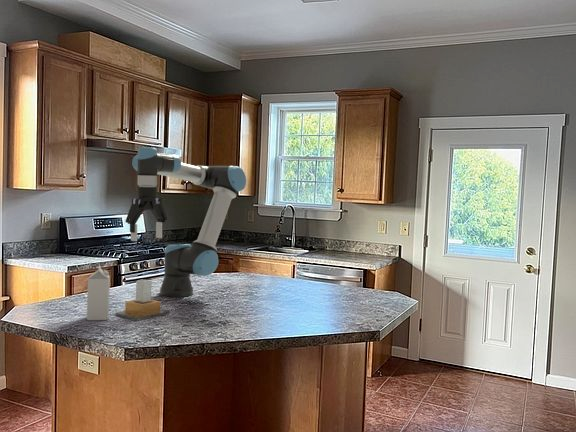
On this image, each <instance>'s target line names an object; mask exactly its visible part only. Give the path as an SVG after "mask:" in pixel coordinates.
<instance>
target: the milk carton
mask: <svg viewBox="0 0 576 432" xmlns="http://www.w3.org/2000/svg"><path fill="white" fill-rule="evenodd" d="M101 267H102V266H101V265H99V267H98V269H97V270H96V271H94V272H93V273H92V274H91V275H90V276H89V277H88V279H87V298H86V299H87V301H86V321H108V319H109V317H110V316H109V315H110V287H111V282H110V281H111V275H109V274H110V272H109V271H108V270H107V269H102V268H101Z"/></svg>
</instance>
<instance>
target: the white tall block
mask: <svg viewBox="0 0 576 432" xmlns="http://www.w3.org/2000/svg"><path fill="white" fill-rule="evenodd" d="M135 282H136V284H135V300H136V302H137V303H141V304H144V303H149V302H151V300H152V285H153V283H152V282H153V281H152V280H149V279H141V280H140V279H139V280H136V281H135Z"/></svg>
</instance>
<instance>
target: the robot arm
mask: <svg viewBox="0 0 576 432" xmlns="http://www.w3.org/2000/svg"><path fill="white" fill-rule="evenodd" d="M131 163H132V164H131V165H132V167H133V169H134V170H135V171H136V172H137V186H138V187H137V191H136V192H137V195H136V196H138V198H132V199H131V204H130V205H131V206H130V208H129V210H128V214H127V216H126V218H125V221H124V222H125V223H127V224H128V225H129V233H130V241H131V242H138V224H137V222H138V220H139V219H140V217H141V216H142V214H143V213H144V212H145V211H148V210H149V211H151V213H152V214H153V216H154V219H156V222H155V225H156V226H155V238H156V239H163V230H164V223H166V221H167V220H168V217H167V214H166V211H165V209H164V206H163V202H162V198H161V197H157V196H158V188H157V187H156V186H158V175H160V176H164V177H168V178H174V179H178V180H182V181H186V182H191V183H192V184H193V185H195V186H199V187H203V188H205V189H210V190H212V191H213V195H212V196H213V197H212V199H211V201H210V204H209V207H208V209H207V212H206V214H205V217H204V221H203V223H202V226H201V229H200V231H199V234H198V236H197V239H196V240H194V241H192V243H185V244H184V243H183V244H169V245H167V246H166V247H165V250H164V251H165V253H164V276H163V280H162V284H161V286H160V288H159V294H160V295H162V296H163V297H164V296H165V297H175V298H177V297H178V298H179V297H188V296H189V297H190V296H192V295H193V294H194V287H193V285H192V281H191V275H195V276H199V277H201V276H203V277H207V276H210V275H211V274H213V273H214V272H215V271H216V270H217V268H218V266H219V263H220V261H219V256H218V255H219V254H217V253H218V249H217V246H216V245H217V242H218V239H219V236H220V234H221V230H222V228H223V225H224V223H225V220H226V217H227V213H228V211H229V207H230V205H231V202H232V200H233V199H235V198H236V197H237V195H238V192H242V191H243V190H244V189H245V188H246V186H247V177H246V173H245V172H244V170H243V168H241V167H240V166H237V165H201V164H198V165H193V164H188V163H185V162H182V159H181V158H180V156H178V155H177V154H173V153H159V152H158V149H157V148H156V147H147V146H146V147H139V148H138V149H137V154H136V155H135V156H134V157H133V158H132V161H131Z"/></svg>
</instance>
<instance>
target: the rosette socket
mask: <svg viewBox="0 0 576 432" xmlns="http://www.w3.org/2000/svg"><path fill="white" fill-rule="evenodd" d="M161 304H162V302H161V301H160V300H155V299H151V302H149V303H144V304H141V303H137V302H136V299H132V300H127V301H125V305H124V306H125V309H124V310H122V311H118V312H115V317H121V318H123V319H127V320H131V321H137V322H138V321H143V320H147V319H148V320H149V319H151V318H156V317H160V316H164V315H170V310H166V309H162V308H161Z"/></svg>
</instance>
